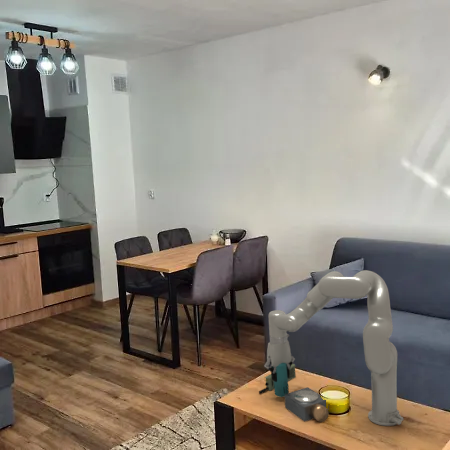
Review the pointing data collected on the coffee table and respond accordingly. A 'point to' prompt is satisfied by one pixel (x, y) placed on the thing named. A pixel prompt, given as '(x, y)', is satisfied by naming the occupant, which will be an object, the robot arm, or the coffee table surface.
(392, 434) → the coffee table surface
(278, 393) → the beverage bottle
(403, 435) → the coffee table surface
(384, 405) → the robot arm
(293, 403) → the motor housing
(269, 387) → the handheld radio
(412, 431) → the coffee table surface
